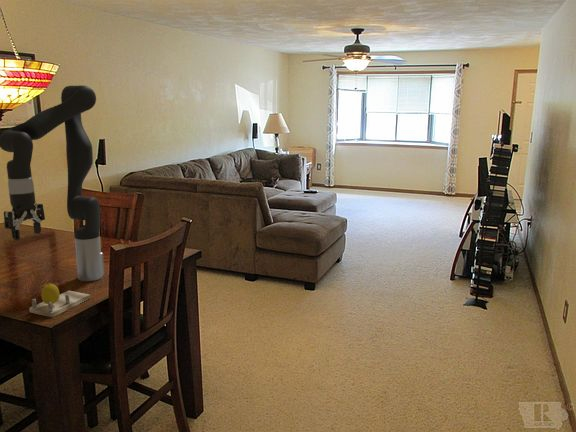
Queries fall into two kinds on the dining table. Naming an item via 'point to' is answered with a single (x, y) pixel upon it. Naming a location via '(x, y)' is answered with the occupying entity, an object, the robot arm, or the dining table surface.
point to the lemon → (50, 293)
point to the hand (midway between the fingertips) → (27, 236)
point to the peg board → (59, 304)
